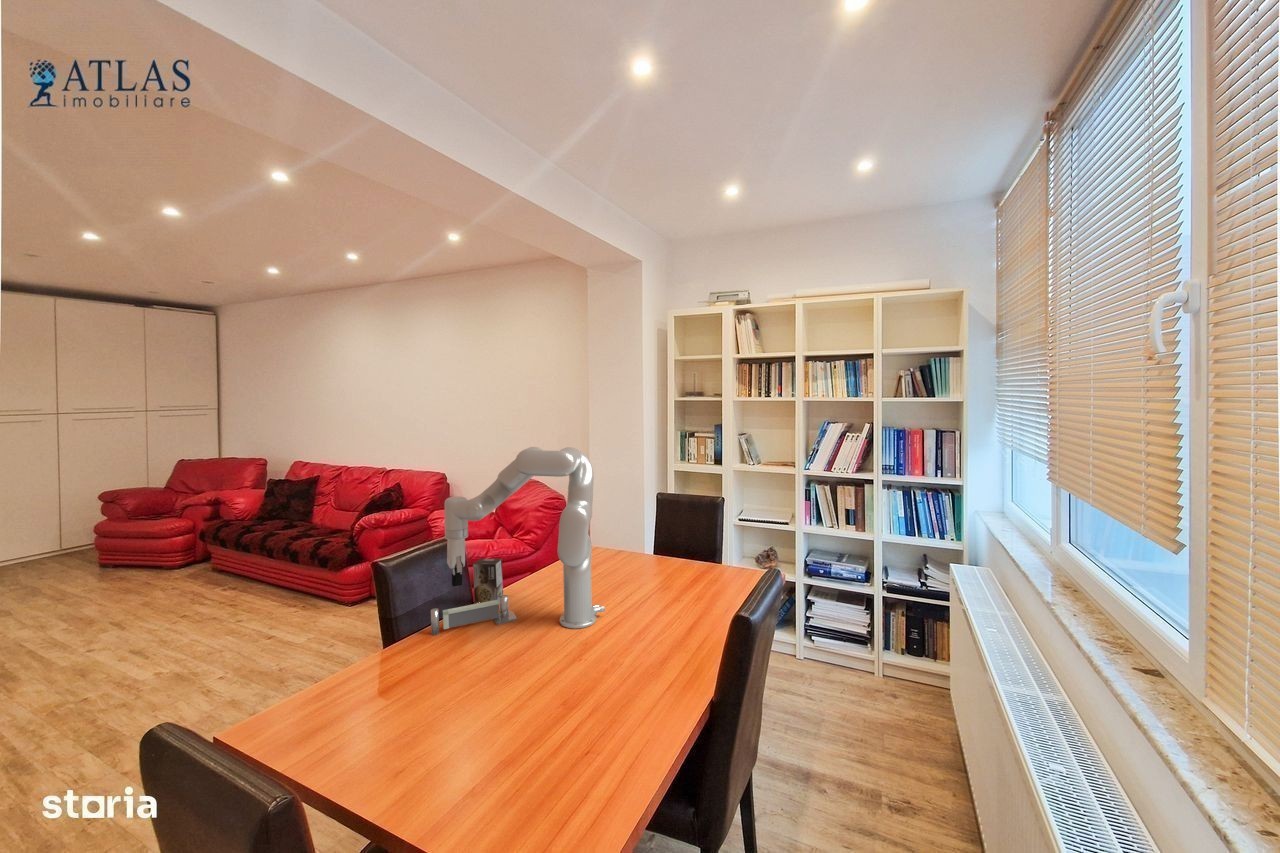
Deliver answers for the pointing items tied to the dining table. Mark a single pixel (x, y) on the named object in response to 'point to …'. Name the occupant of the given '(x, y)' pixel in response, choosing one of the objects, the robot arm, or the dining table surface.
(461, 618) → the gate
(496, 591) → the coffee box
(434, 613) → the post
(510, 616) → the grey post with base
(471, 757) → the dining table surface
